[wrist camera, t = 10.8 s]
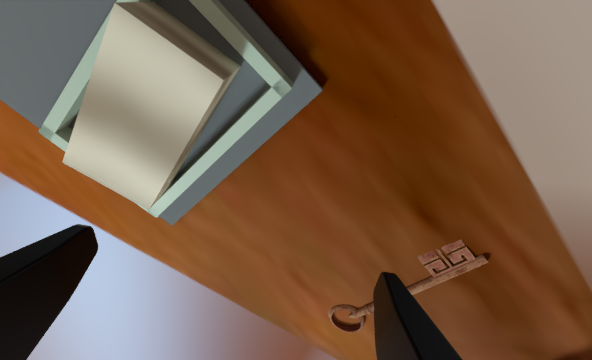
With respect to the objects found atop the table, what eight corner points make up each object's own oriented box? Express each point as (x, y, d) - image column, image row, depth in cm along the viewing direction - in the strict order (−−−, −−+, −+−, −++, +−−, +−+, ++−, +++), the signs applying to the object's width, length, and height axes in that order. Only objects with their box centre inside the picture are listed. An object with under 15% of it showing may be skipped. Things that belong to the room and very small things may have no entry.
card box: (153, 1, 16) (114, 2, 13) (241, 66, 18) (223, 80, 15) (100, 138, 21) (62, 162, 18) (172, 181, 22) (149, 210, 19)
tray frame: (52, 125, 21) (38, 131, 20) (165, -57, 15) (153, -62, 14) (163, 208, 24) (155, 217, 22) (293, 83, 18) (291, 88, 17)
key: (458, 221, 23) (309, 296, 29) (462, 228, 23) (308, 304, 28) (494, 269, 25) (345, 331, 31) (499, 277, 24) (345, 339, 30)
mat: (-133, -7, 18) (-145, -7, 17) (-71, -359, 11) (-87, -373, 11) (174, 221, 25) (171, 225, 24) (322, 88, 18) (322, 90, 18)
